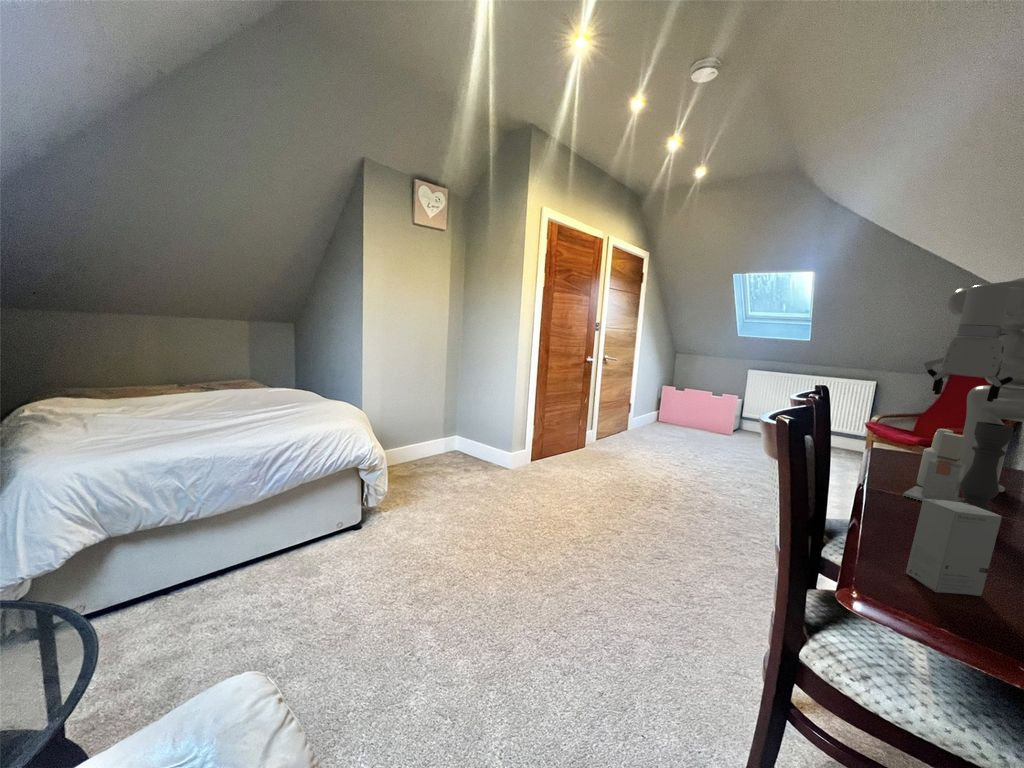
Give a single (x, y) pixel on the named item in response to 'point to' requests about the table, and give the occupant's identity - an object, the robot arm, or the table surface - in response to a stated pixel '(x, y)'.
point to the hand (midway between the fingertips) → (962, 397)
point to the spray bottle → (930, 455)
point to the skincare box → (953, 546)
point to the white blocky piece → (939, 482)
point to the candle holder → (985, 464)
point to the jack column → (951, 448)
